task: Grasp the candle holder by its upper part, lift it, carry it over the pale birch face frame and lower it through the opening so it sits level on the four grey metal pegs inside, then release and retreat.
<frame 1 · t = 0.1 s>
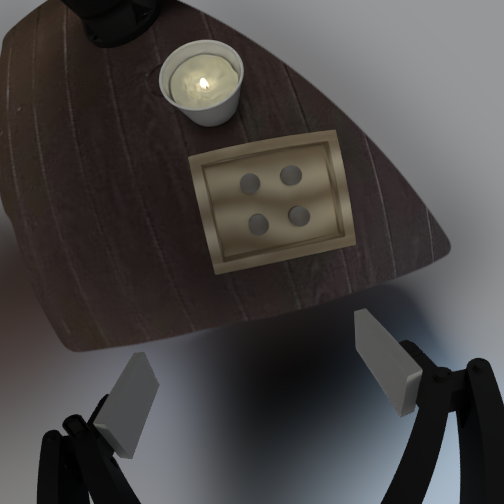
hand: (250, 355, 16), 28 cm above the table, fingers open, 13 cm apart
peg frame: (273, 199, 41), on the table
candle holder: (211, 102, 38), on the table
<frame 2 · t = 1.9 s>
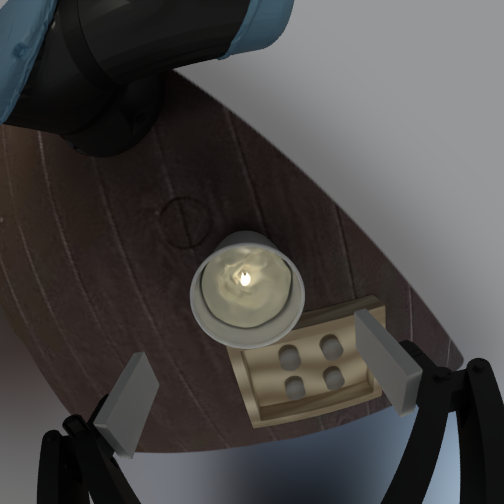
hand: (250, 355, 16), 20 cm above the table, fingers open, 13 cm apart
peg frame: (309, 361, 38), on the table
candle holder: (245, 262, 35), on the table
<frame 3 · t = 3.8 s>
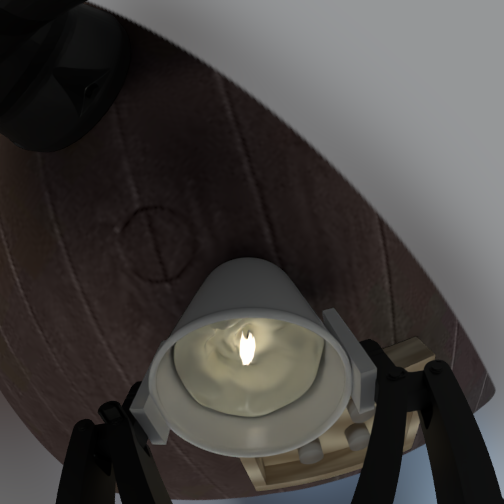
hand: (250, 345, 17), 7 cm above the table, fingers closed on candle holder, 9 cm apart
peg frame: (330, 418, 27), on the table
candle holder: (247, 303, 23), on the table, touching gripper
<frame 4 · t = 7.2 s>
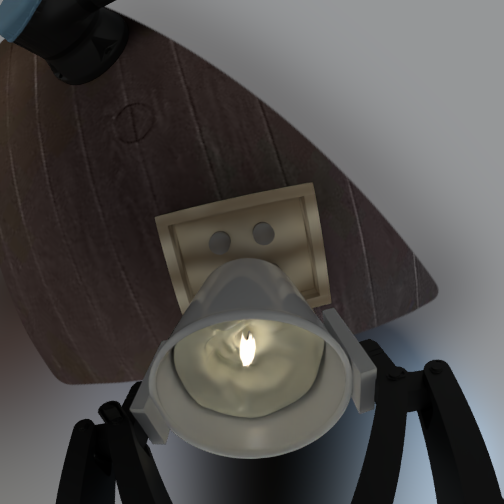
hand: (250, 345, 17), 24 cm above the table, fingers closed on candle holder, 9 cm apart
peg frame: (246, 255, 40), on the table
candle holder: (248, 303, 23), point 17 cm above the table, touching gripper
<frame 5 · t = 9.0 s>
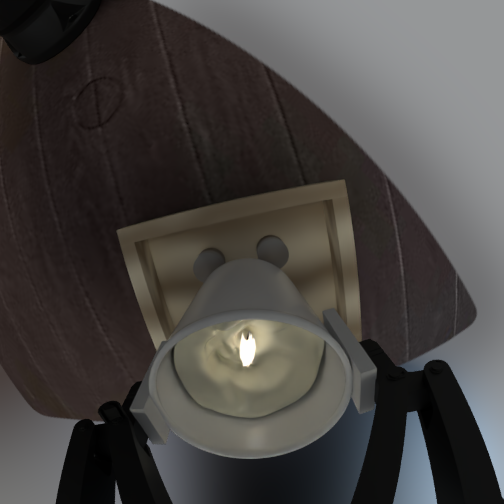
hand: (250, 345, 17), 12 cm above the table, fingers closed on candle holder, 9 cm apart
peg frame: (247, 281, 29), on the table
candle holder: (248, 304, 23), point 6 cm above the table, touching gripper
when the fingers open (11 cm above the table, at t = 10.4 s): candle holder stays where it is, resting on peg frame.
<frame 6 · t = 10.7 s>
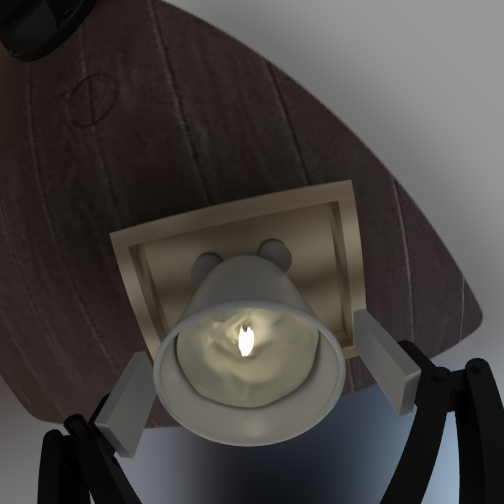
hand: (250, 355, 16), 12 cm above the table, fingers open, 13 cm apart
peg frame: (247, 287, 27), on the table
candle holder: (246, 299, 24), point 3 cm above the table, touching peg frame
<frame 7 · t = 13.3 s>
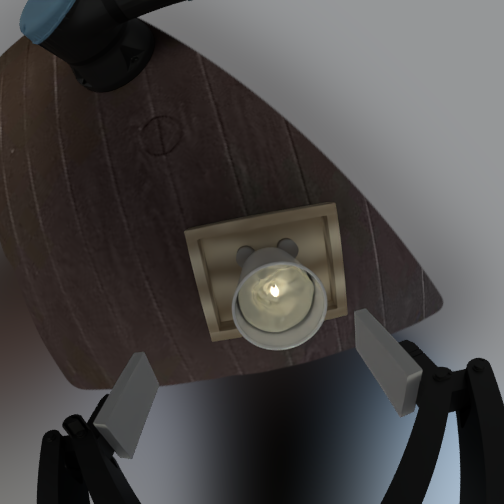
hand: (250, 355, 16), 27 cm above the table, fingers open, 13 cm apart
peg frame: (269, 269, 42), on the table
candle holder: (270, 275, 39), point 3 cm above the table, touching peg frame
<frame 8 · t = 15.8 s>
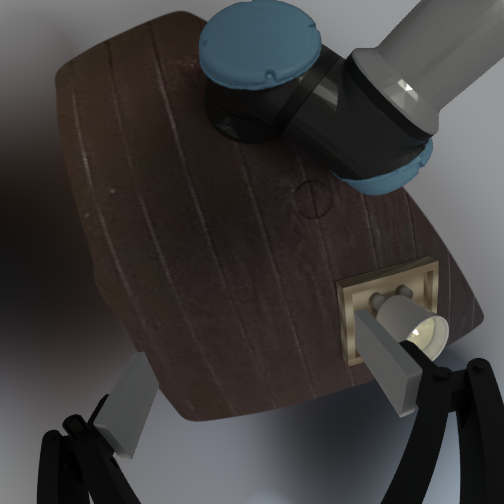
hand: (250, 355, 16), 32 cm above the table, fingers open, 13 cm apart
peg frame: (387, 307, 50), on the table
candle holder: (393, 313, 47), point 3 cm above the table, touching peg frame
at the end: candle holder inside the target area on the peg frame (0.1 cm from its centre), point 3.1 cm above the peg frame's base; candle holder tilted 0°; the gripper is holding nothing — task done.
